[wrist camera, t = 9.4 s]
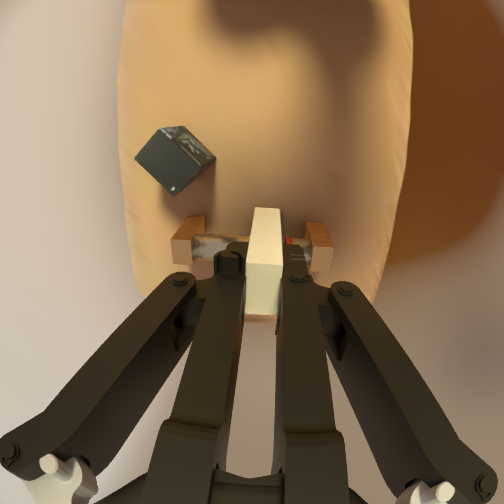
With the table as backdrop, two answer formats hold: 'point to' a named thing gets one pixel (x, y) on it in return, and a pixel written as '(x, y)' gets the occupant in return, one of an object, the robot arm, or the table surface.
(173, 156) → the box
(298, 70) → the table surface
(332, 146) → the table surface
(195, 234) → the pipe
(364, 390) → the robot arm
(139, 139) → the table surface
